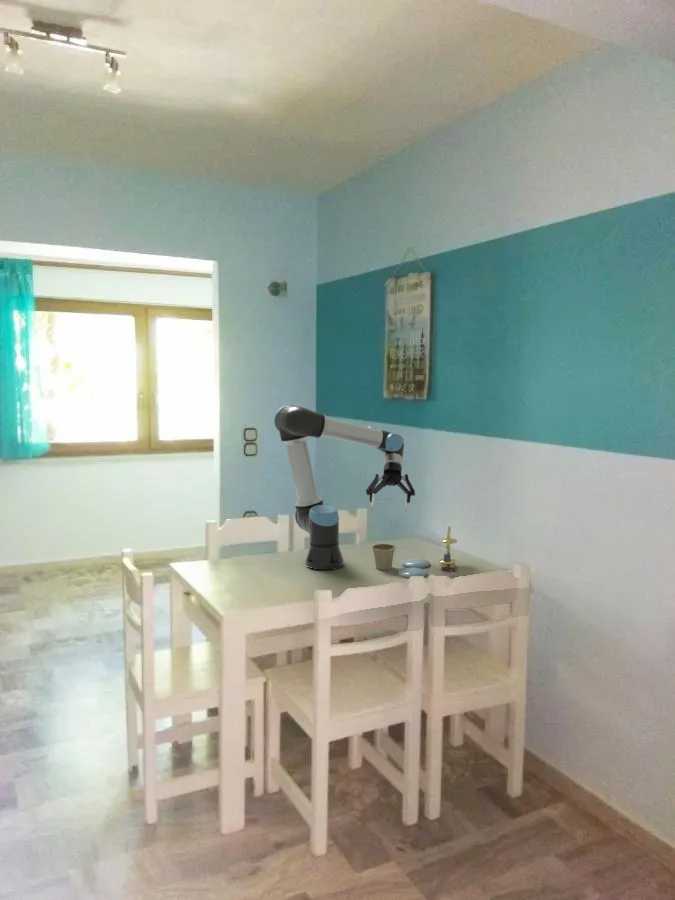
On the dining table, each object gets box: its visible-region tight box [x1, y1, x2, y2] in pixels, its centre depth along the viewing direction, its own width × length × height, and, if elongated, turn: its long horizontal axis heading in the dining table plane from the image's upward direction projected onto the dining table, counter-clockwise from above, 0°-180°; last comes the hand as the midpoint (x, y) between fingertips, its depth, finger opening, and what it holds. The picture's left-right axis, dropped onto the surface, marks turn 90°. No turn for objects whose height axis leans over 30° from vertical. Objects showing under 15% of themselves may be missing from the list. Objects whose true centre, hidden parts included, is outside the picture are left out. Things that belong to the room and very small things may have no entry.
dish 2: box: [401, 558, 431, 569], centre depth 278 cm, size 11×11×1 cm
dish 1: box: [397, 567, 428, 579], centre depth 266 cm, size 11×11×1 cm
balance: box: [439, 525, 458, 572], centre depth 272 cm, size 6×21×15 cm, turn 168°
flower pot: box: [371, 543, 396, 571], centre depth 274 cm, size 9×9×9 cm
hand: (388, 508), depth 282 cm, fingers open, 13 cm apart
